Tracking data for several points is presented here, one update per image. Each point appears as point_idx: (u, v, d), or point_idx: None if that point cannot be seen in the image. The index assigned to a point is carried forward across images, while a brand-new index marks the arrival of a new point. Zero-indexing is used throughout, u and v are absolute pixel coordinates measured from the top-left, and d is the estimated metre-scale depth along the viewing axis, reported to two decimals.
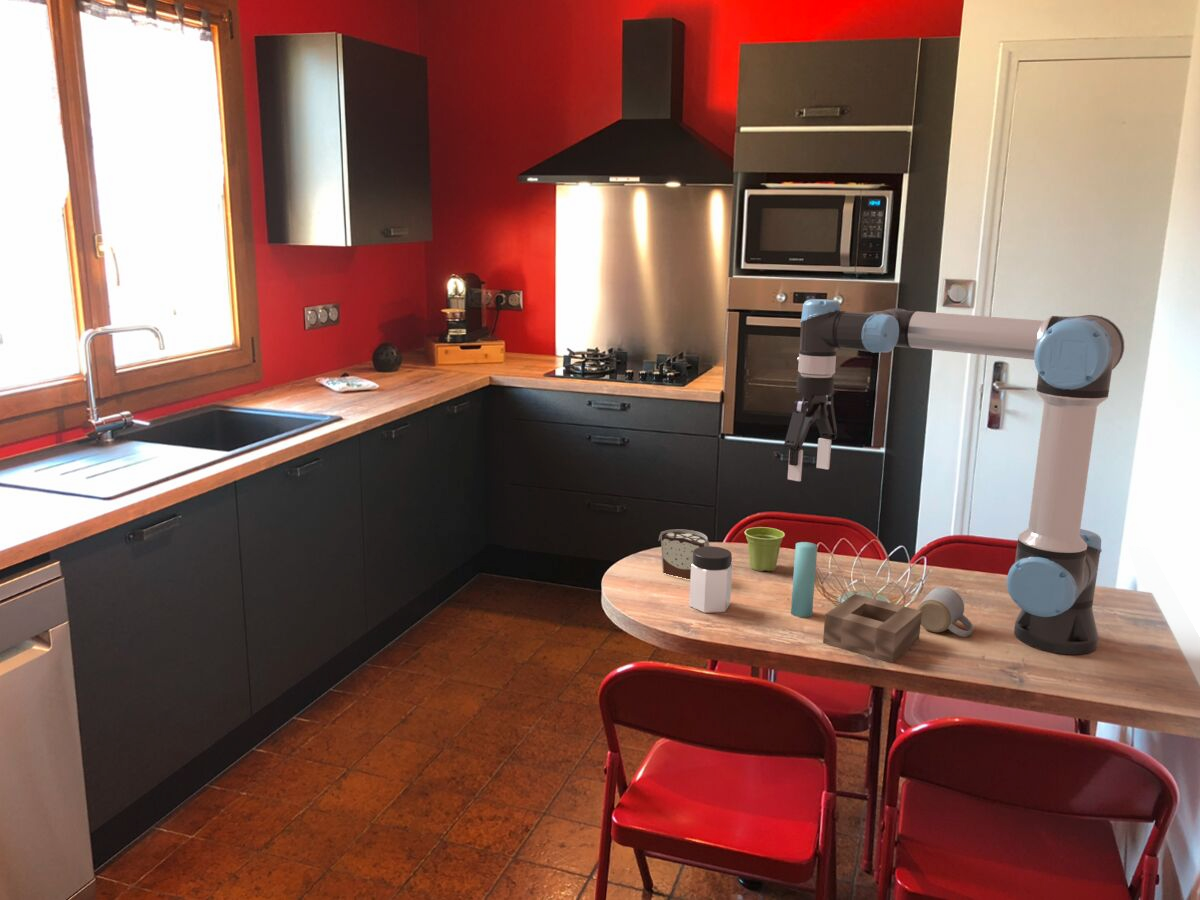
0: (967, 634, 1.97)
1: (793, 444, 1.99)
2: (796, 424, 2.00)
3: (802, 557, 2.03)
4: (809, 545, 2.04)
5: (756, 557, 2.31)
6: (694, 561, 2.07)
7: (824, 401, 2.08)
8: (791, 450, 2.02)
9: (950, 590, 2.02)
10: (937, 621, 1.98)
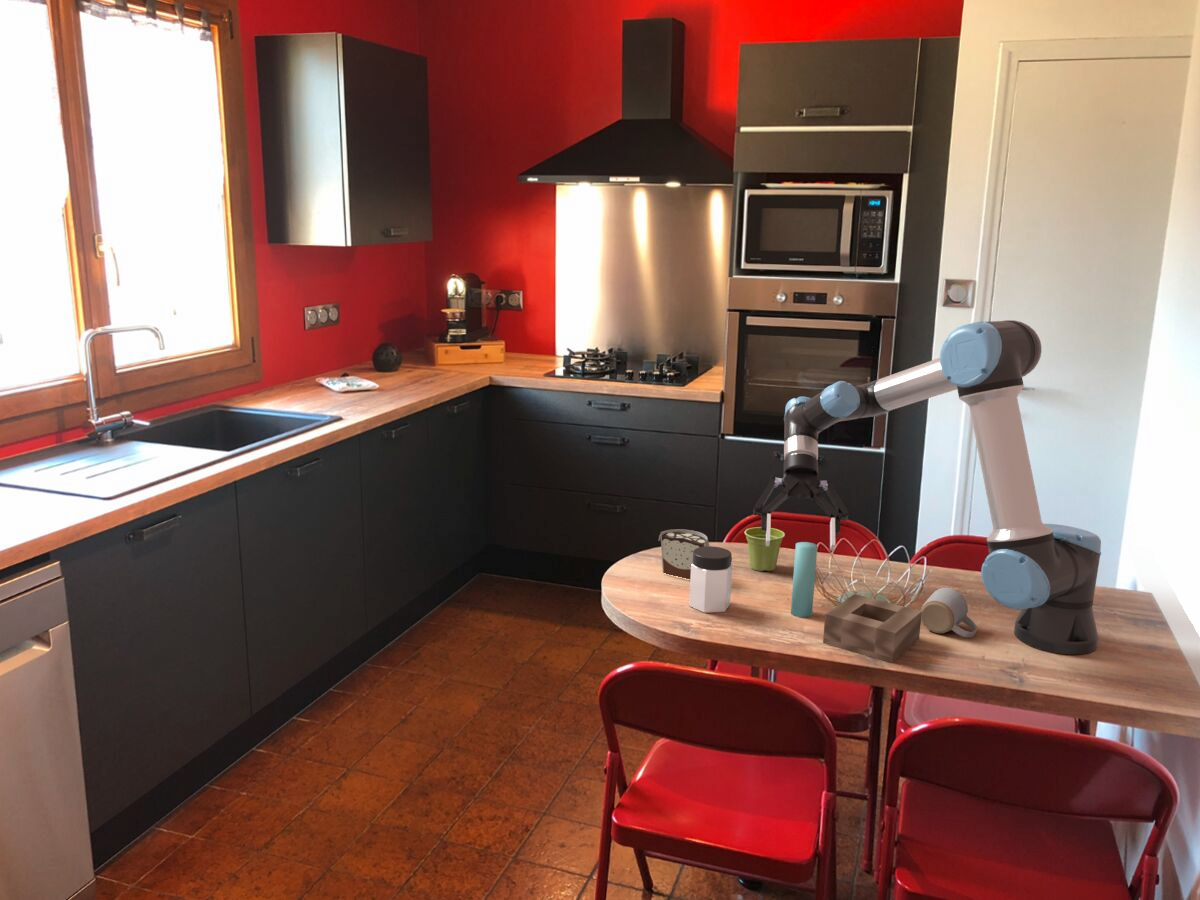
0: (971, 635, 1.97)
1: None
2: None
3: (802, 557, 2.03)
4: (809, 545, 2.04)
5: (756, 557, 2.31)
6: (694, 561, 2.07)
7: (813, 481, 2.17)
8: (760, 516, 2.15)
9: (954, 591, 2.01)
10: (940, 622, 1.97)
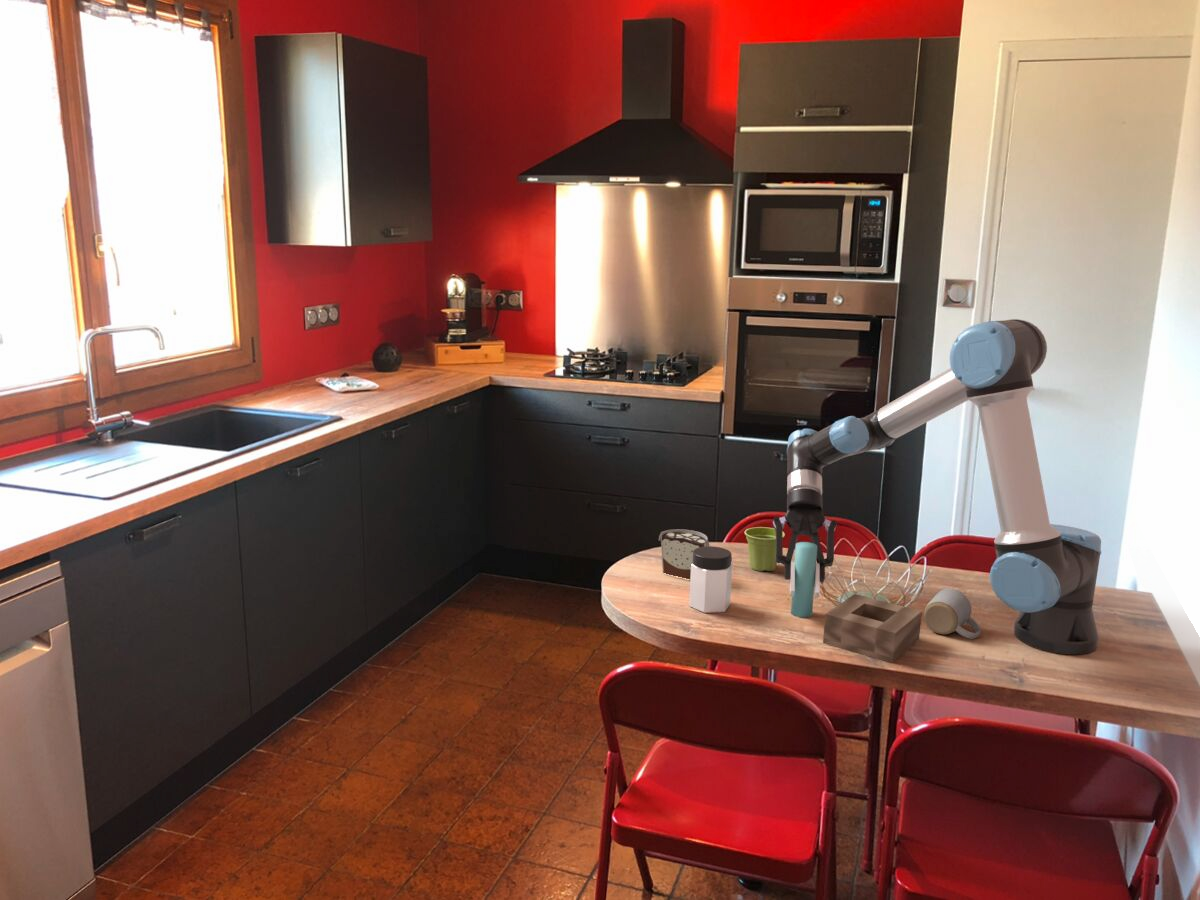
0: (974, 636, 1.96)
1: None
2: (776, 538, 2.09)
3: (802, 557, 2.03)
4: (809, 545, 2.04)
5: (756, 557, 2.31)
6: (694, 561, 2.07)
7: (818, 516, 2.10)
8: (784, 564, 2.07)
9: (957, 592, 2.01)
10: (944, 623, 1.97)
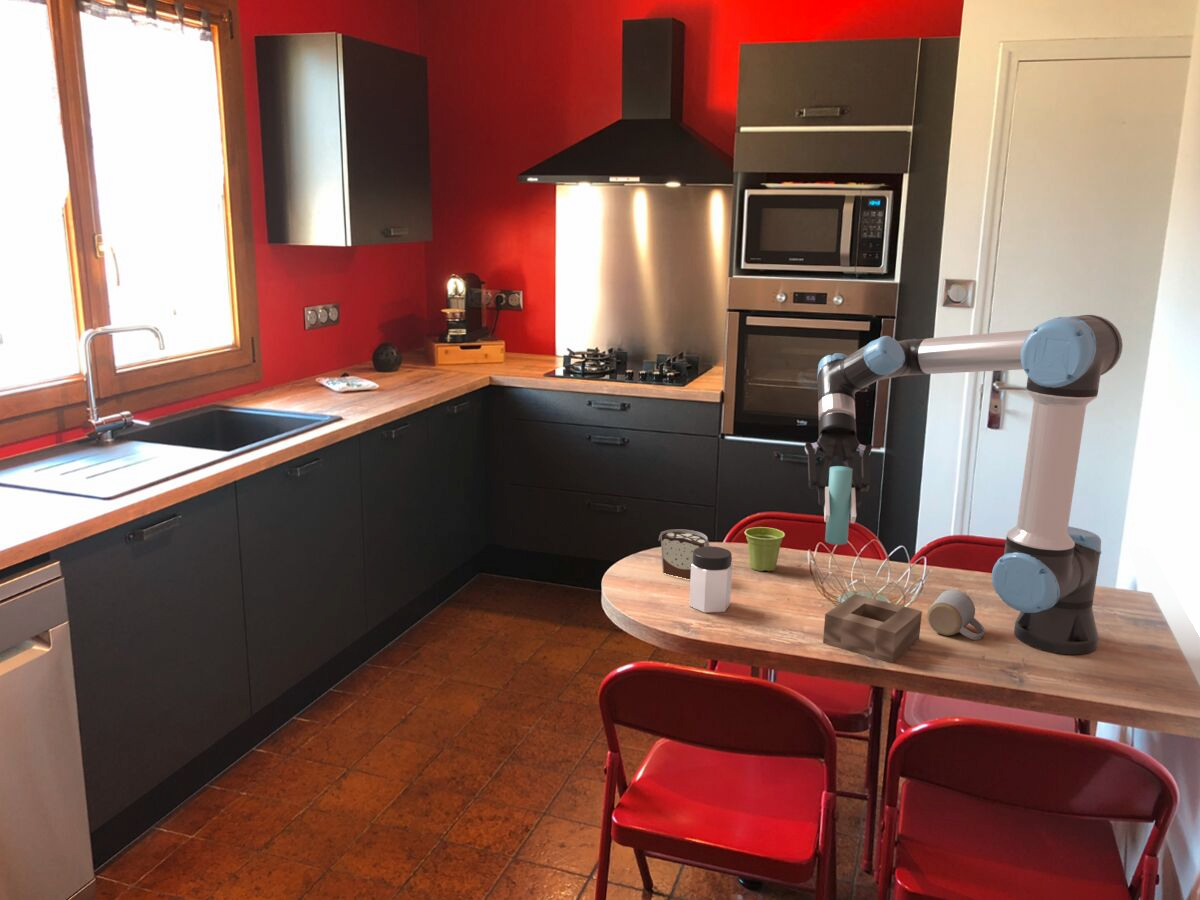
0: (978, 637, 1.96)
1: None
2: (808, 464, 2.00)
3: (837, 480, 1.93)
4: (844, 468, 1.95)
5: (756, 557, 2.31)
6: (694, 561, 2.07)
7: (852, 441, 2.01)
8: (817, 490, 1.97)
9: (961, 593, 2.00)
10: (948, 624, 1.96)
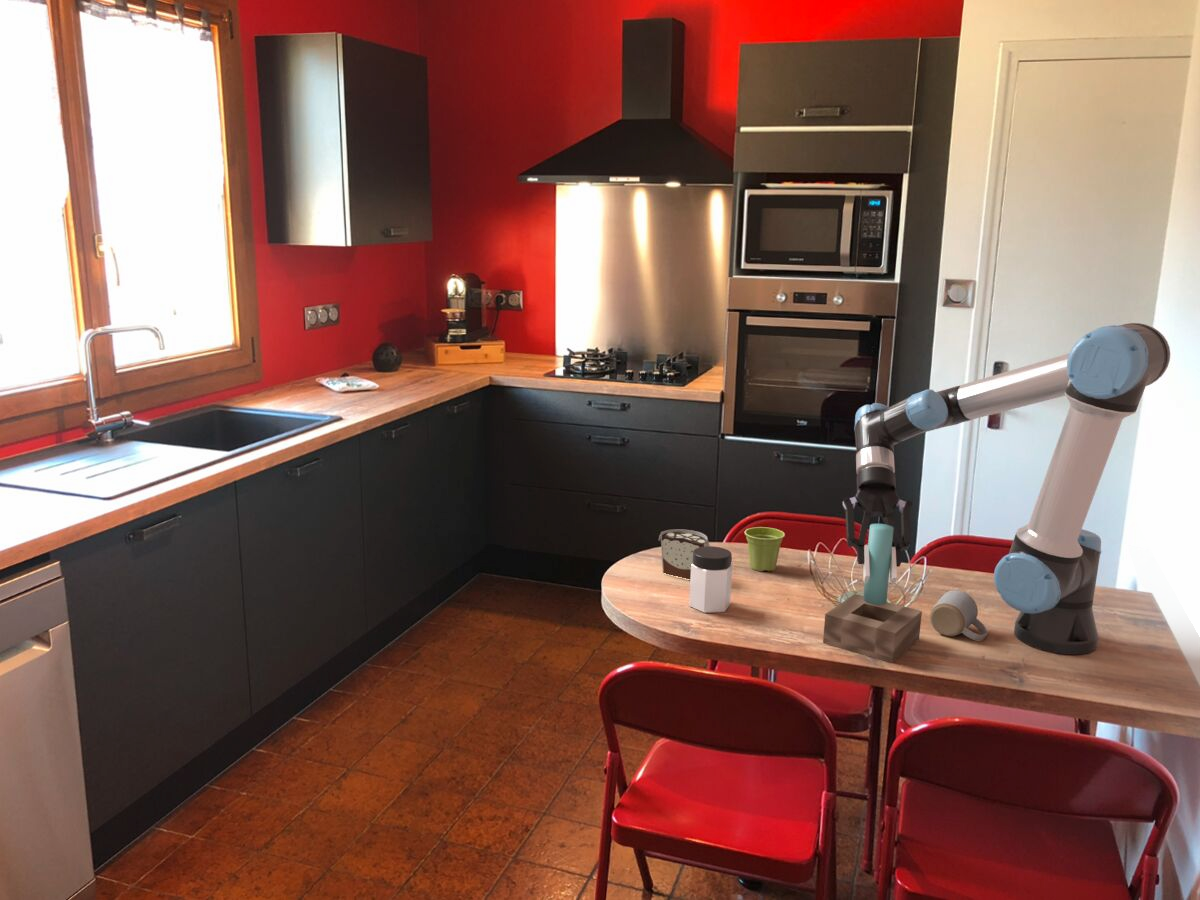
0: (981, 638, 1.95)
1: (849, 537, 1.92)
2: (847, 520, 1.94)
3: (877, 539, 1.88)
4: (884, 527, 1.89)
5: (756, 557, 2.31)
6: (694, 561, 2.07)
7: (891, 496, 1.95)
8: (856, 548, 1.92)
9: (963, 593, 2.00)
10: (950, 624, 1.96)
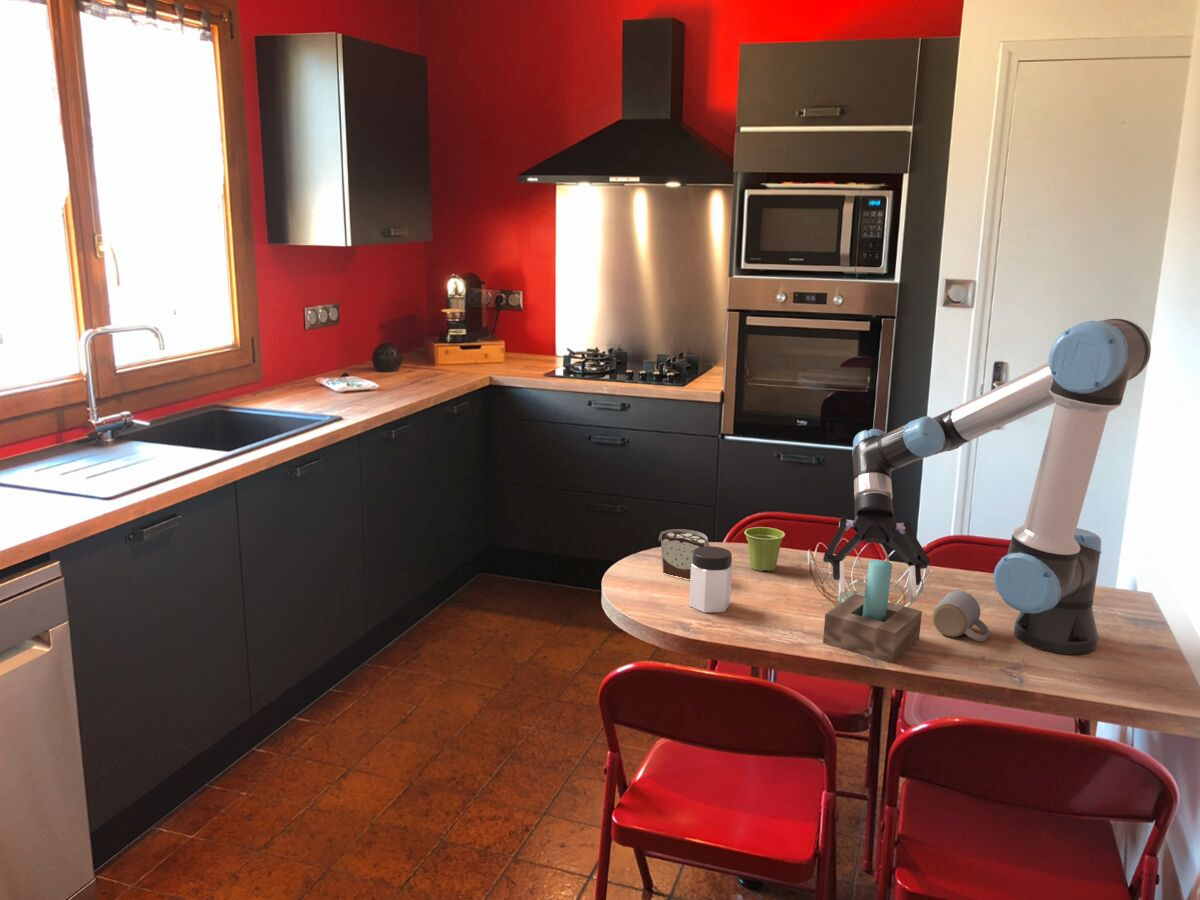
0: (984, 639, 1.95)
1: None
2: None
3: (876, 575, 1.89)
4: (883, 563, 1.91)
5: (756, 557, 2.31)
6: (694, 561, 2.07)
7: (889, 523, 1.97)
8: (832, 564, 1.94)
9: (966, 594, 2.00)
10: (953, 625, 1.96)
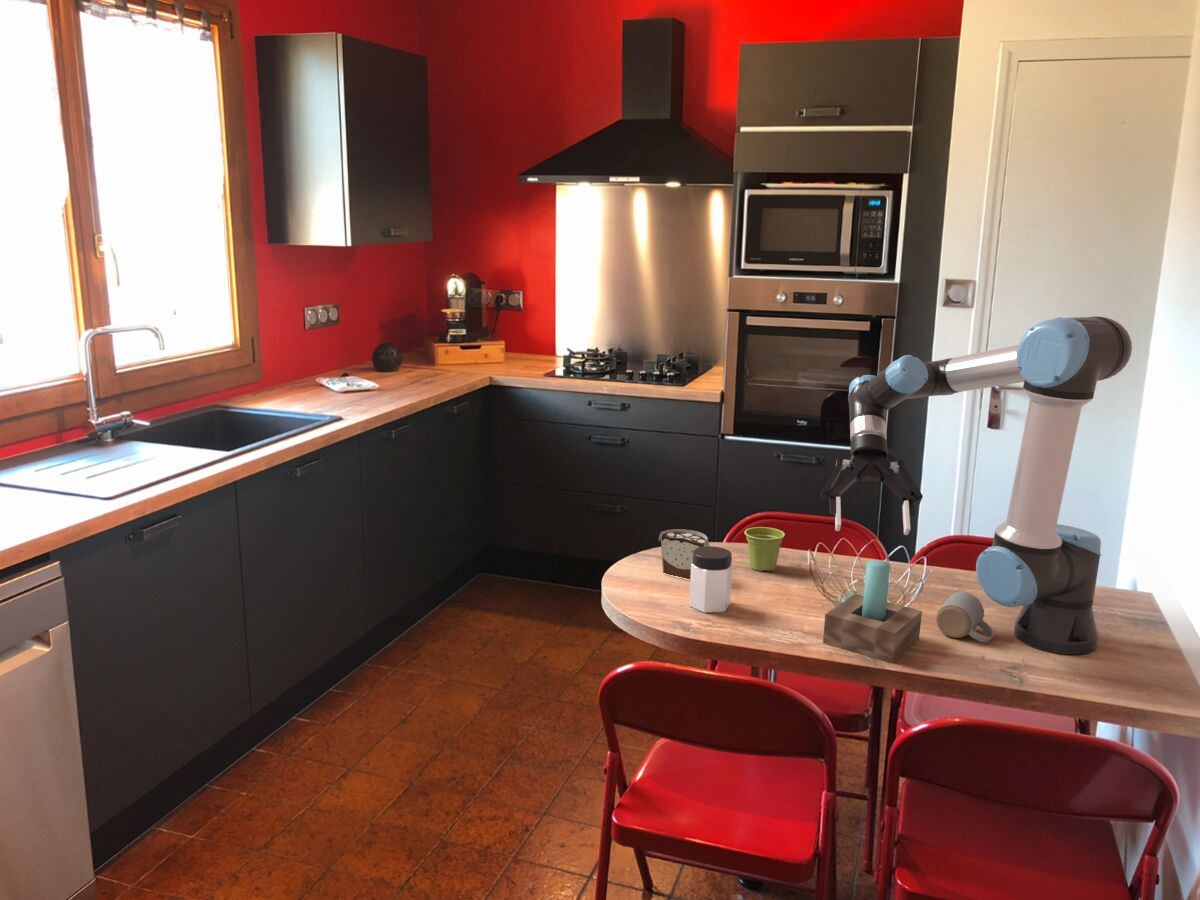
0: (988, 640, 1.95)
1: (822, 490, 2.04)
2: None
3: (874, 576, 1.89)
4: (881, 564, 1.91)
5: (756, 557, 2.31)
6: (694, 561, 2.07)
7: (883, 462, 2.06)
8: (829, 500, 2.04)
9: (970, 595, 1.99)
10: (957, 626, 1.95)
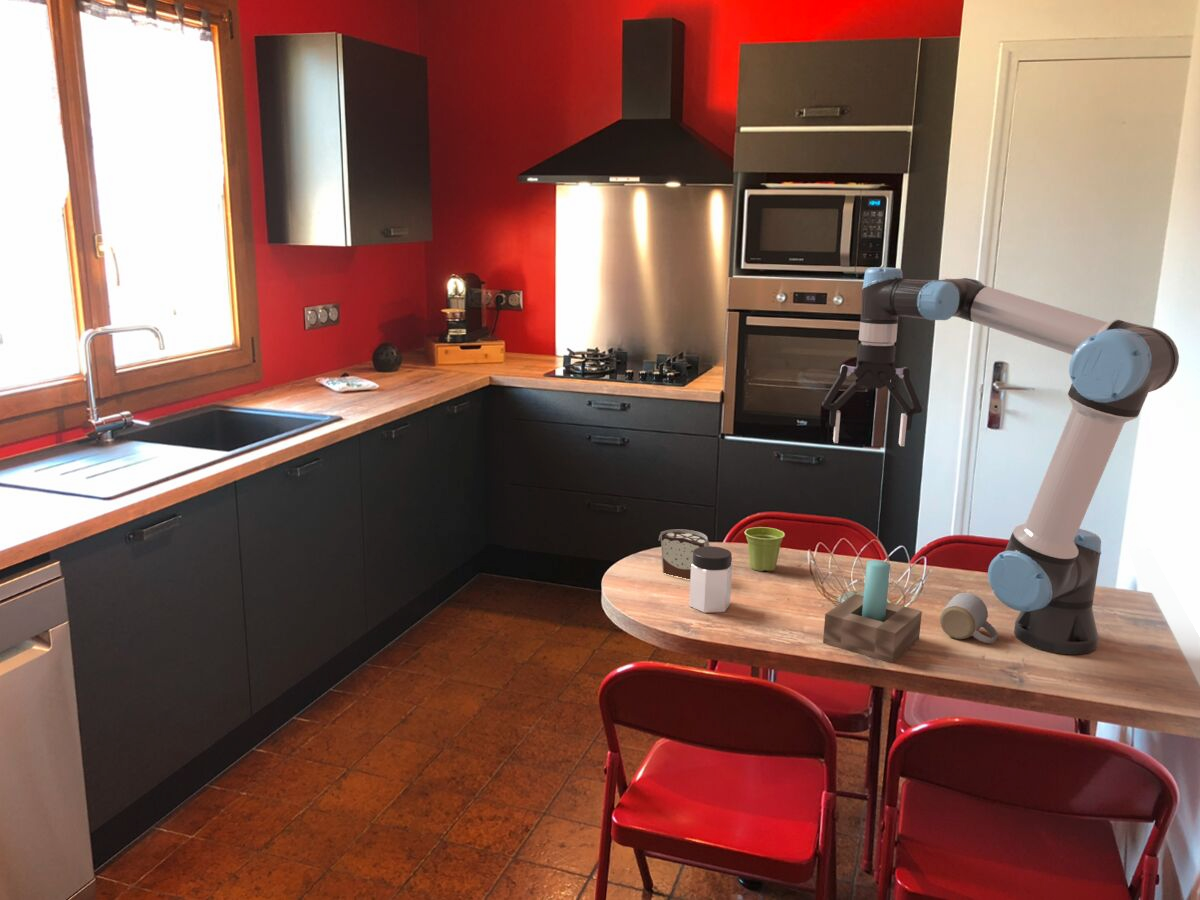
0: (991, 641, 1.94)
1: (823, 403, 2.08)
2: (833, 386, 2.07)
3: (874, 576, 1.89)
4: (881, 564, 1.91)
5: (756, 557, 2.31)
6: (694, 561, 2.07)
7: (888, 372, 2.04)
8: (830, 411, 2.09)
9: (973, 596, 1.99)
10: (961, 627, 1.95)
